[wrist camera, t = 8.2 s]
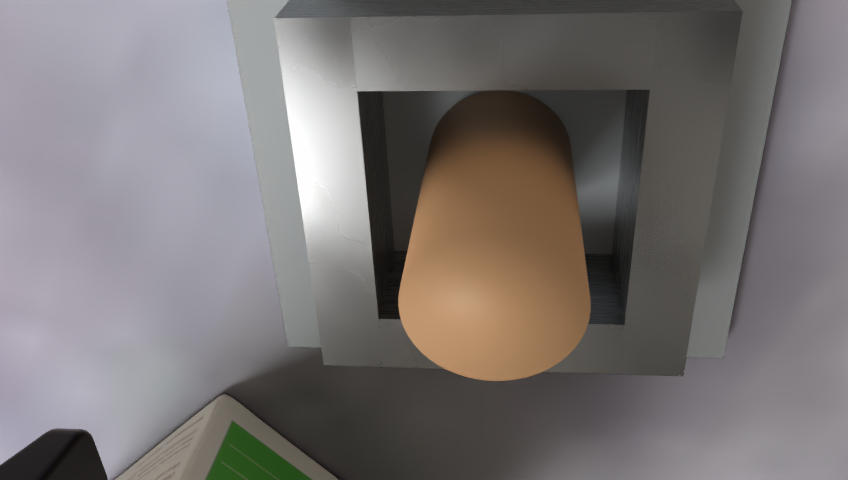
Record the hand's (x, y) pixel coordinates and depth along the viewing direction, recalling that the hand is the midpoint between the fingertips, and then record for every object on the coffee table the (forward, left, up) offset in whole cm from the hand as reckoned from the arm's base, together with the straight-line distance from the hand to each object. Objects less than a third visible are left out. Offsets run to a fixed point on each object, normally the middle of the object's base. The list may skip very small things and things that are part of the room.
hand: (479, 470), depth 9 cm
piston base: (0, 0, -9) cm, 9 cm away
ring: (0, 0, -8) cm, 8 cm away
